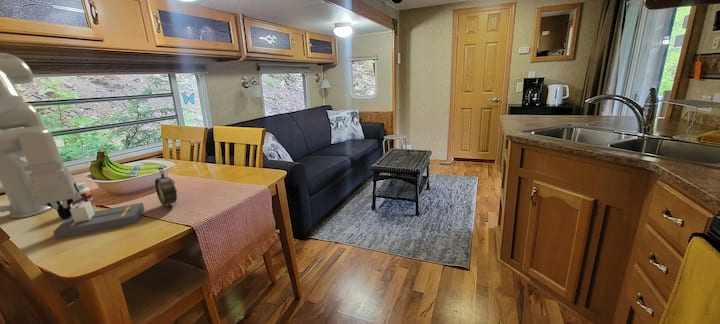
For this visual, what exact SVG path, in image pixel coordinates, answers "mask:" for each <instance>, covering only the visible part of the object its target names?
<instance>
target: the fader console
mask: <svg viewBox="0 0 720 324" xmlns="http://www.w3.org/2000/svg"><path fill="white" fill-rule="evenodd" d="M144 212H145V206H144V203H143V202H139V203H134V204H133V203H132V204H129V205H128V204H126V205H123V206H122V205H121V206H117V207H111V208H107V209H106V208H105V209H100V210H94V213H95V214H94V215H93V217H92V218H91V219H90V220H86V221H81V222H76V223H75V222H74V219H73V217H72V216H71V217H70V218H69V219H65V220H63V222H62V223H61V224H59V226H58V227H56V229H54V230H53V231H52V232H53V234H54V236H55V239H56V240H61V239H66V238H70V237H76V236H81V235H86V234H90V233H95V232H101V231H105V230H110V229H115V228H120V227H124V226H125V227H126V226H129V225H130V226H131V225H136V224H138V222H139V220H140V218H141V217H142V215H143V213H144Z"/></svg>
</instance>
